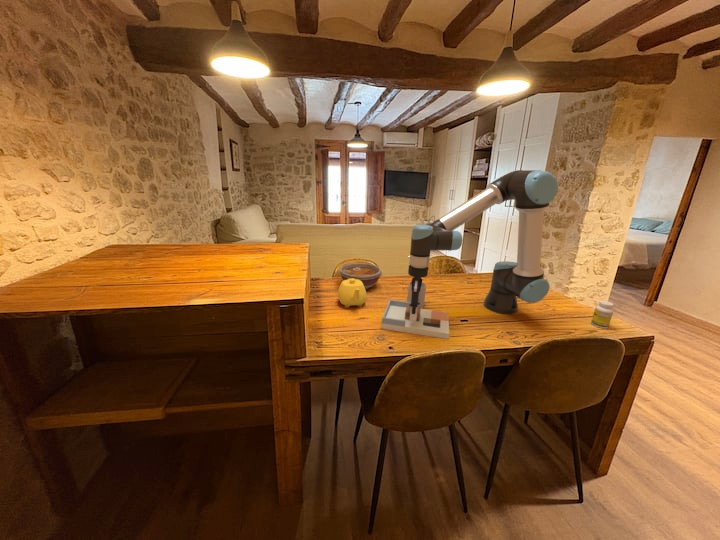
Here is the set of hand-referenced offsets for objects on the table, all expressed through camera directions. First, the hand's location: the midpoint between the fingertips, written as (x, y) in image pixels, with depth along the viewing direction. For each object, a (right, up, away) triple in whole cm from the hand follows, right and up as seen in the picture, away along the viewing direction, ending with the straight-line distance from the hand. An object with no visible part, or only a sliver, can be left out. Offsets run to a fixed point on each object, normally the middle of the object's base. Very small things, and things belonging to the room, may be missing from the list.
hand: (412, 319), depth 123 cm
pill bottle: (+84, -4, +9) cm, 85 cm away
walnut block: (+1, 0, +6) cm, 6 cm away
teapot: (-25, +3, +23) cm, 34 cm away
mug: (+5, +4, +26) cm, 27 cm away
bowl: (-22, +11, +46) cm, 52 cm away
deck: (+2, -3, +7) cm, 8 cm away
